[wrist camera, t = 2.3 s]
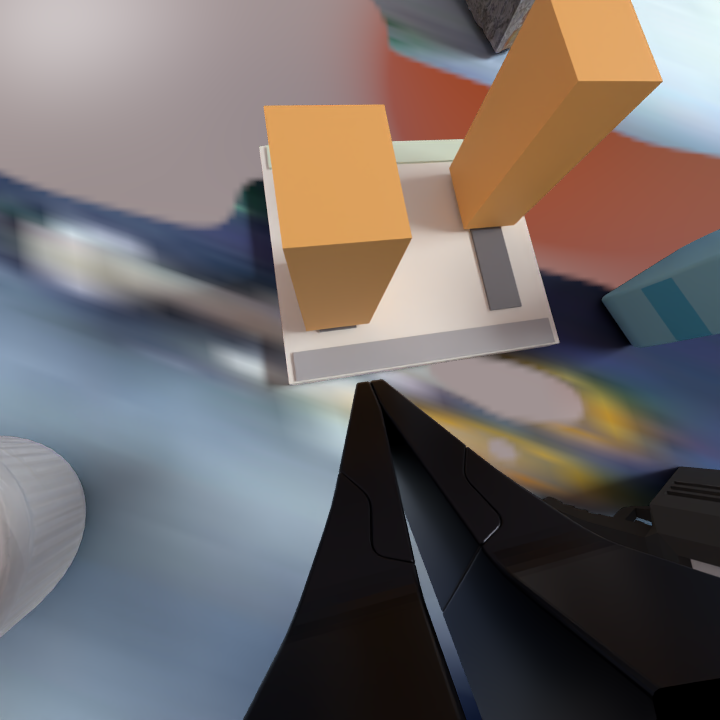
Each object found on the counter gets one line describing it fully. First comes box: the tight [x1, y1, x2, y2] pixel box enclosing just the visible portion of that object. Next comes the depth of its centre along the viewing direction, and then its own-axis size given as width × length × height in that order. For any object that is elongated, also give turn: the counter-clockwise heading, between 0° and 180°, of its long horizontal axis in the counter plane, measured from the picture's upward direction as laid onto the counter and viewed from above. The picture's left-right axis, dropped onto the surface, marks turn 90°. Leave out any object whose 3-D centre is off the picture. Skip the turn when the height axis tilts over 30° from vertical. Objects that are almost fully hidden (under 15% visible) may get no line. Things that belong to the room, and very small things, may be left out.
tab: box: [449, 0, 663, 229], centre depth 16 cm, size 5×4×9 cm
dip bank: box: [259, 139, 560, 386], centre depth 20 cm, size 17×19×1 cm
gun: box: [543, 467, 720, 577], centre depth 17 cm, size 3×16×10 cm, turn 95°
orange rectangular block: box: [264, 105, 412, 331], centre depth 13 cm, size 5×4×9 cm
